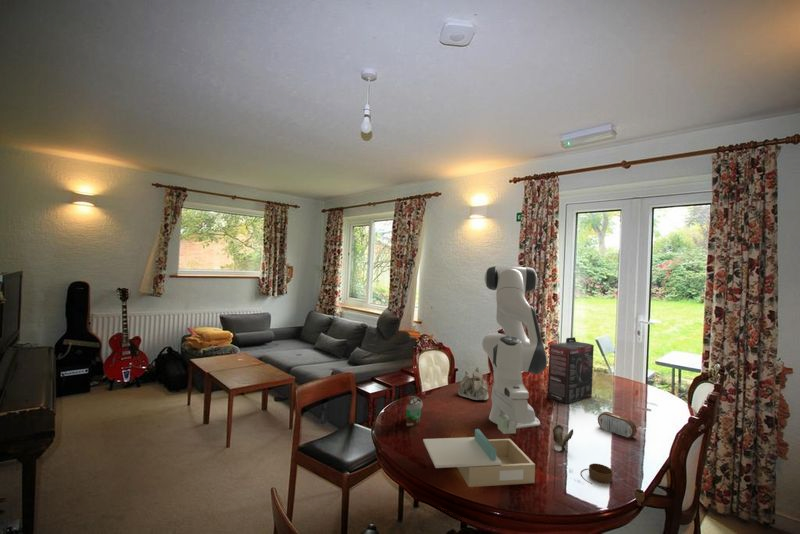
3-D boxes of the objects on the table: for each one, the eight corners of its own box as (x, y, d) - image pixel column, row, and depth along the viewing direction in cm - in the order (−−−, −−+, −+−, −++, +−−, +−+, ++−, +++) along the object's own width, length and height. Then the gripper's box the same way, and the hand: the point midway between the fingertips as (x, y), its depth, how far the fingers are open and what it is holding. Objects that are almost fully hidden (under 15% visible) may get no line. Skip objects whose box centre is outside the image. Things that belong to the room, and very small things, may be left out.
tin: (636, 440, 156) (637, 420, 156) (633, 442, 154) (634, 422, 154) (599, 427, 168) (600, 408, 168) (596, 429, 166) (597, 410, 166)
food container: (419, 430, 158) (420, 406, 158) (405, 428, 159) (406, 404, 159) (423, 418, 170) (424, 396, 170) (410, 417, 171) (411, 395, 171)
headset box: (572, 390, 219) (574, 334, 219) (593, 397, 208) (595, 338, 208) (546, 397, 205) (548, 337, 205) (567, 405, 195) (569, 341, 195)
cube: (497, 427, 129) (498, 414, 129) (509, 427, 130) (510, 414, 130) (503, 433, 125) (503, 420, 125) (515, 433, 126) (516, 419, 126)
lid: (481, 439, 135) (481, 427, 135) (501, 464, 118) (502, 451, 118) (423, 441, 132) (423, 429, 132) (435, 468, 115) (436, 454, 115)
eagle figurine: (574, 450, 145) (575, 427, 145) (571, 458, 139) (572, 434, 139) (553, 444, 149) (554, 422, 149) (550, 452, 143) (551, 428, 143)
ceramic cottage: (457, 390, 211) (458, 364, 211) (487, 393, 208) (488, 366, 208) (457, 400, 196) (458, 371, 196) (489, 403, 193) (490, 374, 193)
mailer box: (509, 457, 137) (510, 438, 137) (534, 486, 119) (535, 464, 119) (451, 460, 134) (452, 440, 134) (468, 490, 116) (469, 467, 116)
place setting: (623, 478, 127) (624, 461, 127) (648, 515, 108) (649, 495, 108) (568, 469, 131) (569, 453, 131) (582, 504, 112) (583, 484, 112)
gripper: (487, 376, 137) (486, 414, 137) (513, 395, 117) (511, 439, 117) (504, 376, 138) (502, 413, 138) (531, 395, 118) (530, 439, 118)
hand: (506, 425), depth 128 cm, fingers closed on cube, 4 cm apart
